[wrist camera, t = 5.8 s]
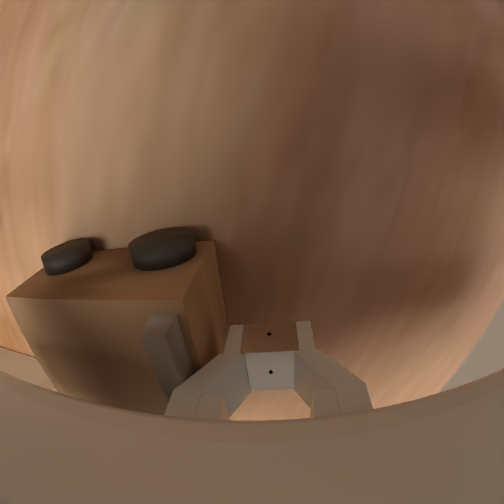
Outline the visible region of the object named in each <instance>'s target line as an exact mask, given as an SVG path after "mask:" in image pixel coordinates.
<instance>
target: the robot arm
mask: <svg viewBox="0 0 504 504" xmlns="http://www.w3.org/2000/svg"><path fill="white" fill-rule="evenodd" d="M270 389H295V391H296V392H297V393H298V394H299V395H300V397H301V398H302V399H303V400H304V401H305V402H306V404H307V405H308V406H309V407H310V408H311V417H310V418H303V419H289V420H265V421H232V420H230V418H229V417H230V416H231V415H232V414H233V413H234V411H235V410H236V409H237V408H238V407H239V405H240V404H241V403H242V402H243V401H244V399H245V398H246V397H247V396H248V394H249V393H250V392H251V391H252V390H270ZM0 504H504V368H503V369H501V370H499V371H497V372H495V373H492V374H490V375H487V376H485V377H482V378H480V379H477V380H475V381H472V382H470V383H467V384H464V385H461V386H459V387H455V388H453V389H450V390H446V391H443V392H440V393H437V394H434V395H430V396H427V397H423V398H420V399H416V400H412V401H408V402H404V403H400V404H396V405H391V406H387V407H382V408H377V409H373V407H372V404H371V401H370V397H369V394H368V391H367V387H366V384H365V382H363V381H362V380H361V379H359V378H358V377H356V376H355V375H354V374H352V373H351V372H350V371H348V370H347V369H346V368H344V367H343V366H342V365H340V364H339V363H338V362H336V361H335V360H334V359H332V358H331V357H330V356H328V355H327V354H326V353H324V352H323V351H322V350H320V349H315V343H314V338H313V332H312V327H311V322H310V321H309V320H307V321H297V322H296V323H295V322H291V323H278V324H245V325H230V327H229V330H228V335H227V339H226V344H225V348H224V353H223V354H219V355H217V356H216V357H215V358H214V359H212V360H211V361H210V362H209V363H207V364H206V365H205V366H204V367H202V368H201V369H200V370H198V371H197V372H196V373H195V374H193V375H192V376H191V377H190V378H188V379H187V380H186V381H184V382H183V384H180V385H179V386H178V387H176V388H175V389H174V390H173V392H172V395H171V398H170V400H169V403H168V406H167V409H166V412H165V414H164V415H157V414H150V413H144V412H138V411H132V410H126V409H121V408H116V407H111V406H107V405H102V404H98V403H94V402H90V401H86V400H82V399H78V398H75V397H71V396H68V395H64V394H61V393H58V392H55V391H52V390H49V389H46V388H43V387H40V386H37V385H34V384H31V383H29V382H26V381H24V380H21V379H18V378H16V377H14V376H11V375H9V374H7V373H5V372H2V371H0Z"/></svg>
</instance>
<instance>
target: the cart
mask: <svg viewBox="0 0 504 504" xmlns="http://www.w3.org/2000/svg"><path fill="white" fill-rule="evenodd" d="M128 247H129V248H119V249H109V250H98V251H92V250H91V246H90V243H89V240H88V239H76V240H72V241H68V242H65V243H62V244H60V245H57V246H55V247H53V248H51V249H50V250H48V251H46V252H45V253H44V254H43V255H42V256H41V259H42V262H43V265H44V268H42V269H41V270H40V271H38V272H37V273H36V274H34V275H33V276H32V277H30V278H29V279H28V280H26V281H25V282H24V283H22V284H21V285H20V286H18V287H17V288H16V289H15V290H13V291H12V292H11V293H10V294H8V295H7V296H6V299H7V301H8V303H9V306H10V308H11V310H12V312H13V314H14V317H15V319H16V321H17V323H18V325H19V327H20V329H21V331H22V333H23V335H24V337H25V339H26V341H27V342H28V344H29V346H30V348H31V350H32V352H33V353H34V355H35V357H36V358H37V360H38V362H39V363H40V365H41V367H42V368H43V370H44V372H45V373H46V375H47V376H48V378H49V379H50V381H51V382H52V384H53V385H54V387H55V388H56V390H57V391H58V393H61V394H64V395H68V396H71V397H75V398H78V399H82V400H86V401H90V402H94V403H98V404H102V405H107V406H111V407H116V408H121V409H126V410H132V411H138V412H144V413H150V414H157V415H164V414H165V412H166V409H167V406H168V403H169V400H170V398H171V395H172V392H173V390H174V389H175V388H176V387H178V386H179V385H180V384H183V382H184V381H186V380H187V379H188V378H190V377H191V376H192V375H193V374H195V373H196V372H197V371H198V370H200V369H201V368H202V367H204V366H205V365H206V364H207V363H209V362H210V361H211V360H212V359H214V358H215V357H216V356H217V355H219V354H223V353H224V348H225V344H226V339H227V335H228V330H229V326H228V320H227V315H226V309H225V304H224V298H223V292H222V286H221V280H220V274H219V268H218V262H217V256H216V249H215V243H214V240H211V241H198V242H195V238H194V232H193V230H191V229H189V228H167V229H161V230H157V231H153V232H150V233H147V234H144V235H142V236H139V237H137V238H136V239H134V240H133V241H131V242H130V243H129V245H128Z"/></svg>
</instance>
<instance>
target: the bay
mask: <svg viewBox="0 0 504 504" xmlns="http://www.w3.org/2000/svg"><path fill="white" fill-rule="evenodd" d="M0 371H2V372H5V373H7V374H9V375H11V376H14V377H16V378H18V379H21V380H24V381H26V382H29V383H31V384H34V385H37V386H40V387H43V388H46V389H49V390H53V388H54V385H53V384H52V382H51V381H50V379H49V378H48V376H47V375H46V373H45V372H44V370H43V368H42V367H41V365H40V363H39V362H38V360H37V358H34V357H31V356H27V355H24V354H21V353H18V352H14V351H11V350H8V349H5V348H2V347H0Z"/></svg>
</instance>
